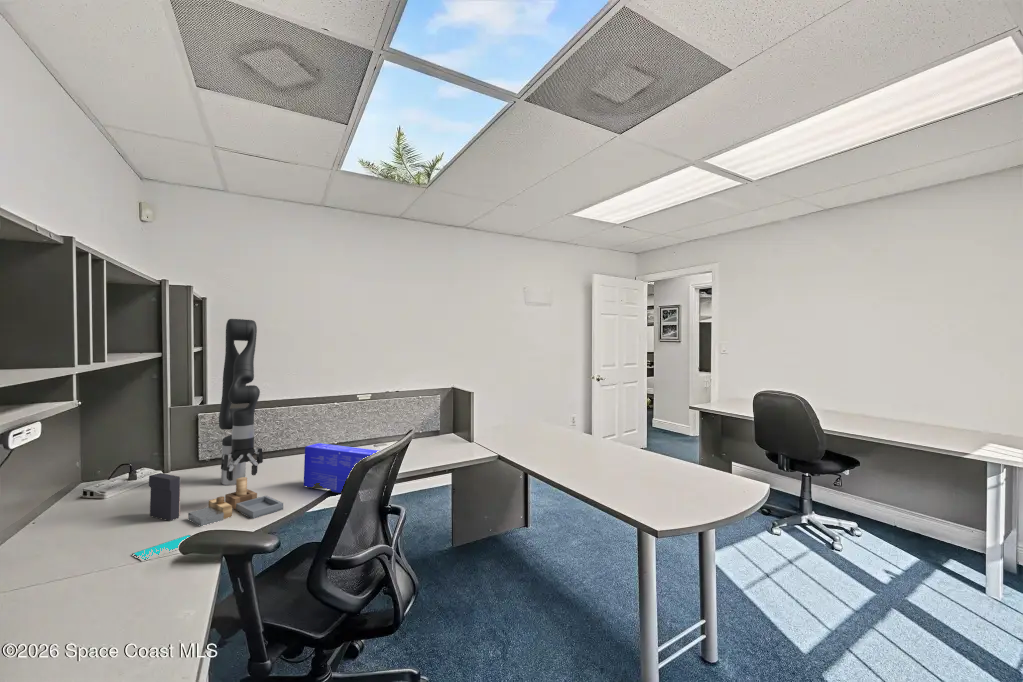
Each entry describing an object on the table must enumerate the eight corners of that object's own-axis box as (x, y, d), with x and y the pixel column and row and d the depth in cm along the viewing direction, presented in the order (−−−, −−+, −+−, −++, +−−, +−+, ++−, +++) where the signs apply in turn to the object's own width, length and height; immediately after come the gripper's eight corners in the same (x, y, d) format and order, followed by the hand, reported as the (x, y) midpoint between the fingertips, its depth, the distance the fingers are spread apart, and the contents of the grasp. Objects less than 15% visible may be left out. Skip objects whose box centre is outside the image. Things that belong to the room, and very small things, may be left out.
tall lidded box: (181, 517, 155) (182, 475, 155) (168, 521, 150) (169, 479, 151) (160, 512, 158) (162, 472, 158) (147, 517, 154) (148, 475, 154)
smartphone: (131, 553, 127) (188, 534, 140) (131, 556, 127) (188, 537, 140) (142, 560, 124) (200, 540, 137) (142, 563, 124) (200, 543, 137)
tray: (235, 510, 162) (236, 503, 162) (265, 501, 171) (266, 495, 171) (252, 518, 155) (253, 511, 155) (283, 509, 164) (283, 502, 164)
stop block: (208, 511, 160) (208, 495, 161) (217, 508, 163) (217, 492, 163) (222, 519, 154) (223, 502, 154) (231, 516, 156) (232, 500, 156)
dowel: (233, 504, 168) (234, 478, 168) (243, 501, 171) (244, 476, 171) (238, 506, 166) (239, 480, 166) (248, 503, 169) (248, 478, 169)
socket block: (225, 504, 167) (225, 494, 167) (247, 498, 174) (247, 488, 174) (234, 509, 163) (235, 499, 163) (256, 503, 169) (257, 493, 169)
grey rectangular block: (188, 521, 153) (188, 512, 153) (210, 514, 159) (210, 506, 159) (201, 528, 147) (201, 519, 147) (223, 521, 153) (223, 512, 153)
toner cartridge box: (388, 494, 183) (389, 451, 183) (375, 500, 175) (376, 456, 175) (317, 481, 197) (318, 441, 197) (302, 487, 189) (303, 445, 189)
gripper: (257, 432, 176) (256, 471, 176) (218, 438, 164) (217, 480, 164) (266, 434, 172) (265, 475, 172) (227, 440, 160) (226, 484, 160)
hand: (242, 477), depth 168 cm, fingers open, 8 cm apart
